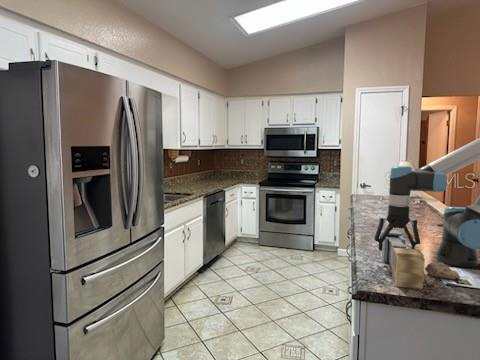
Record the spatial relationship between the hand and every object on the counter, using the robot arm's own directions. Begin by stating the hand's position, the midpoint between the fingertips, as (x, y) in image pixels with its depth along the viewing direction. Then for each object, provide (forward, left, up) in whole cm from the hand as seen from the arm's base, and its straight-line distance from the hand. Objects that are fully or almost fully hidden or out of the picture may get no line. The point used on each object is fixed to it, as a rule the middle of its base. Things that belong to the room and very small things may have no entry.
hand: (395, 259), depth 134 cm
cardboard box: (-6, +16, -3) cm, 17 cm away
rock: (-16, +1, -3) cm, 16 cm away
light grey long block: (+1, -4, -3) cm, 5 cm away
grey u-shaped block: (+3, -8, -3) cm, 8 cm away
